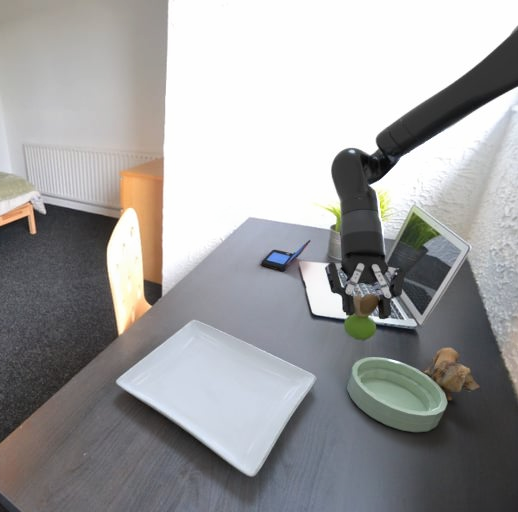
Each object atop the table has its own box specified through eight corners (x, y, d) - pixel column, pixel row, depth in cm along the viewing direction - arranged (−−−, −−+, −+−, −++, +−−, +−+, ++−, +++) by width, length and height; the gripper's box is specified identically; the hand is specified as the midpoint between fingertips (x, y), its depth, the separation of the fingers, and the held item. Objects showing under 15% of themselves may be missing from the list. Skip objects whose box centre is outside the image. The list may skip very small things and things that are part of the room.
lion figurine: (465, 419, 63) (487, 380, 59) (426, 407, 65) (445, 369, 61) (447, 366, 74) (464, 330, 70) (414, 357, 77) (429, 322, 73)
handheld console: (272, 251, 124) (276, 231, 121) (306, 260, 118) (311, 239, 115) (259, 265, 116) (262, 244, 112) (295, 275, 109) (300, 252, 106)
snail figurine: (331, 333, 77) (345, 284, 72) (355, 326, 79) (370, 278, 74) (353, 349, 73) (369, 298, 67) (378, 341, 74) (396, 291, 69)
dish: (414, 380, 71) (422, 362, 69) (455, 441, 59) (466, 421, 57) (337, 370, 74) (342, 352, 72) (361, 426, 62) (368, 407, 60)
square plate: (250, 495, 53) (254, 477, 51) (113, 395, 70) (112, 379, 68) (314, 388, 70) (319, 373, 68) (192, 329, 87) (193, 316, 85)
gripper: (330, 227, 75) (333, 309, 69) (411, 231, 72) (420, 317, 66) (317, 240, 82) (320, 316, 76) (391, 245, 79) (398, 324, 73)
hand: (366, 316), depth 71 cm, fingers closed on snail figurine, 5 cm apart
